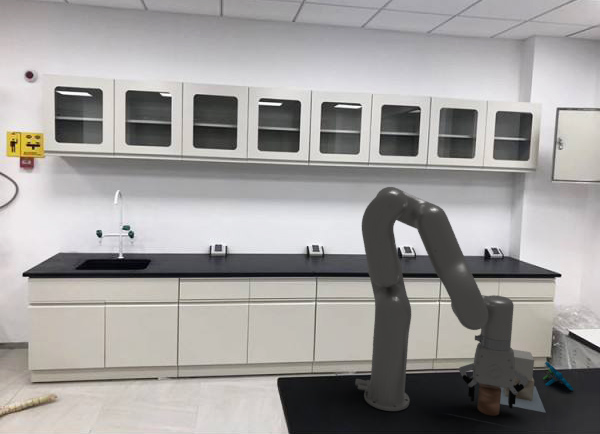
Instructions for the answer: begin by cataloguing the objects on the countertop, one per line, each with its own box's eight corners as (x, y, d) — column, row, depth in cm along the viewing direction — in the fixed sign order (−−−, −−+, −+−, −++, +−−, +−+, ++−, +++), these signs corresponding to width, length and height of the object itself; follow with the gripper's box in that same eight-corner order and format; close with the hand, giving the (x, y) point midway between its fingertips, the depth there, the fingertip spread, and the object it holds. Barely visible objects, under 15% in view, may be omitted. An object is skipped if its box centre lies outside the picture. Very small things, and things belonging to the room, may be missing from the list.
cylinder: (477, 414, 120) (480, 389, 119) (476, 404, 125) (478, 381, 125) (500, 419, 118) (502, 394, 118) (497, 408, 124) (500, 384, 123)
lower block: (505, 396, 130) (507, 376, 129) (503, 385, 137) (504, 366, 136) (532, 401, 128) (534, 381, 127) (528, 389, 134) (530, 371, 134)
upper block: (509, 376, 130) (511, 356, 129) (506, 367, 135) (508, 348, 135) (532, 380, 128) (534, 360, 127) (528, 371, 133) (530, 352, 133)
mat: (490, 403, 126) (490, 401, 126) (486, 379, 141) (486, 377, 141) (545, 414, 122) (545, 412, 122) (535, 387, 137) (535, 386, 137)
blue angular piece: (580, 392, 132) (555, 365, 133) (564, 404, 133) (539, 377, 134) (566, 380, 143) (543, 355, 144) (551, 391, 143) (528, 366, 145)
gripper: (461, 342, 119) (457, 403, 121) (533, 352, 113) (528, 415, 115) (460, 333, 126) (457, 390, 128) (528, 341, 120) (523, 401, 122)
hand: (490, 402), depth 122 cm, fingers open, 9 cm apart
